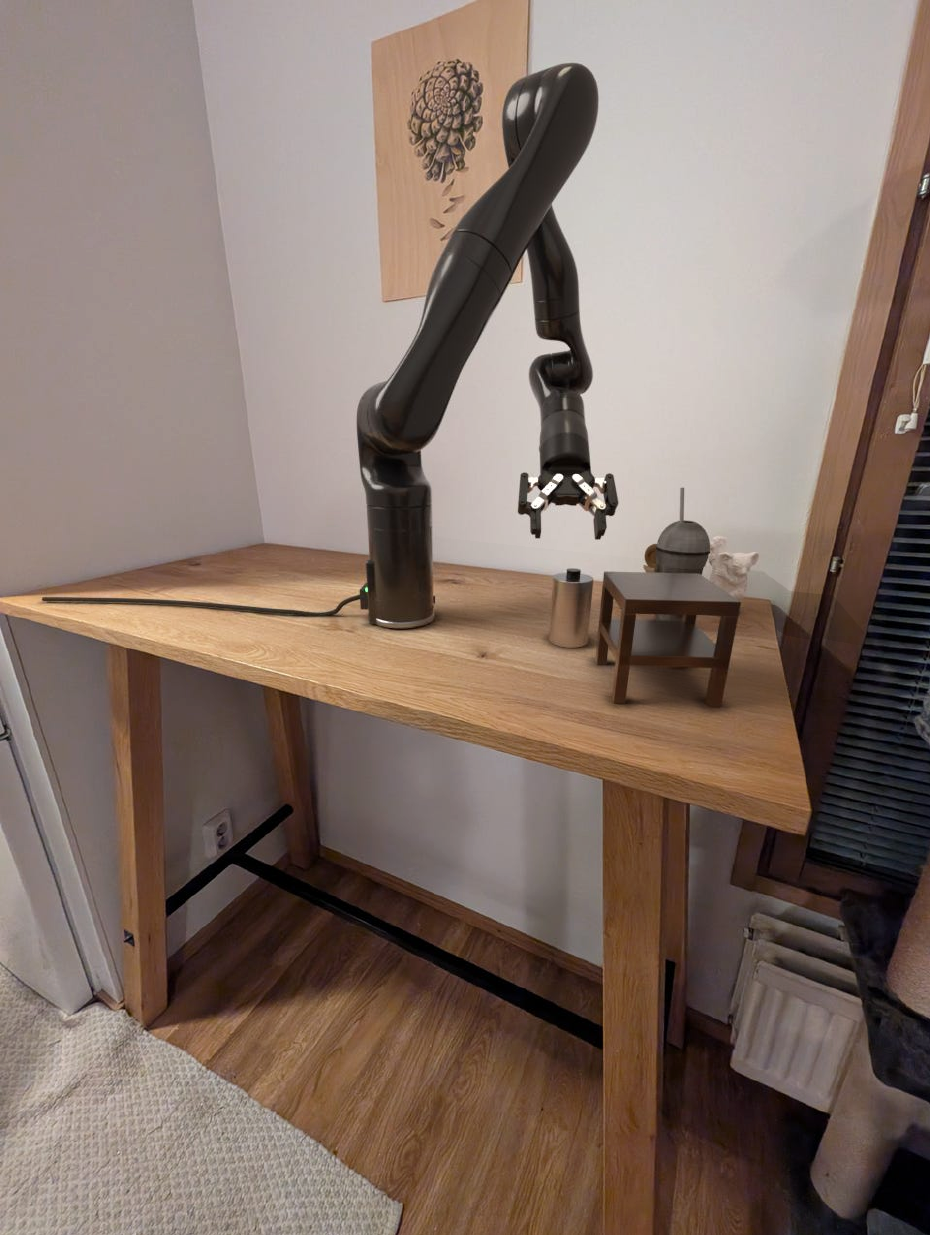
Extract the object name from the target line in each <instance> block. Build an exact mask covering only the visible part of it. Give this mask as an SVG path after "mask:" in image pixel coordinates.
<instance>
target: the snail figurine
mask: <svg viewBox="0 0 930 1235" xmlns="http://www.w3.org/2000/svg"><path fill="white" fill-rule="evenodd" d="M656 545H657V543H652V544H650V545H649V546H647V548H646V549H645V552H644V562H645V563H646V564H644V565H643V570H644V571H645V572H649V573H657V562H656V549H655V547H656Z"/></svg>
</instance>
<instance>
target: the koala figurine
mask: <svg viewBox="0 0 930 1235" xmlns="http://www.w3.org/2000/svg"><path fill="white" fill-rule="evenodd" d="M727 541H728V538H727V537H726V536H723V535H721V534H720V535H719V534H718V535H716V536H713V537H712V540H711V541H710V554H709V556H708V563H709V565H710V567H711V571H710V572H711V573H710V578H709V581H711V582H712V583H714V584H715V585H717V586H718V587H720V588H721V589H723V590H724V591H726V592H727V593H729V594H730V595H731V596H733V597H734V598H736V599H737V600H739V601H741V600H742V599H743V598H744V597H745V595H746V592H747V587H748V579H749V578H748V573H749V571H750V570H751V567H752V566H754V565H756V564H757V563H758V560H759V557H760V554H759V552H758V551H752V552H749V553H745V552H735V553H733V552H732V553H731V552H728V551H727Z"/></svg>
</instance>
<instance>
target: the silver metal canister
mask: <svg viewBox="0 0 930 1235" xmlns="http://www.w3.org/2000/svg"><path fill="white" fill-rule="evenodd" d="M581 572H582V570H581V569H579V568H573V567H572V568H571V567H570V568H567V569H566V572H560V573H559V572H558V573H555V574H554V575H553V576H552V586H551V588H552V589H551V602H550V617H549V618H550V620H549V635H548V640H549V642H550V643H551V644H552V645H555V646H556V647H560V648H566V649H577V648H582V647H585V646H587V644H588V643H589V630H590V620H591V612H592V611H591V610H592V599H593V590H594V589H593V587H594V577H593V576H591V575H589V574H585V573H581Z"/></svg>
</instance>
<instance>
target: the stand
mask: <svg viewBox="0 0 930 1235" xmlns="http://www.w3.org/2000/svg"><path fill="white" fill-rule="evenodd" d="M602 577H603V578H602V586H601V587H602V588H601V598H600V599H601V600H600V608H599V618H598V628H597V629H598V630H597V639H596V650H595V659H594V660H595V663H596V665H598V666H600V665H601V666H607V665H608V655H609V650H610V653H611V654H612V656H613V658H614V659H615V665H614V673H613V682H612V683H613V684H612V692H611V700H612V702H613V704H621V705H625V704H626V700H627V694H628V693H627V691H628V685H629V675H630V669H631V668H630V667H631V666H633V667H660V668H661V667H662V668H663V667H666V668H667V667H668V668H699V669H710V672H709V679H708V683H707V690H706V694H705V700H704V701H705V703H706V704H707V706H708V707H709V708H721V707H722V704H723V698H724V695H725V694H724V693H725V688H726V683H727V677H728V672H729V668H730V662H731V656H732V653H733V647H734V642H735V637H736V632H737V627H738V621H739V615H740V611H741V606H742V601H741V600H737V599H736V598H734V597H733V596H731V595H730V594H729V593H727V592H726V591H724V590H723V589H721V588H720V587H718V586H717V585H715V584H714V583H712V582H711V581H710V579H708V578H707V577H705V576H703V574H702V575H701V574H696V573H649V572H646V571H645V572H643V571H642V572H641V571H603V576H602ZM614 601H615V603H616V604H617V606H618V607H619V608H620V609H621V613H620V618H618V619H617V618H616V619H615V618H613V609H614ZM655 614H665V615H683V616H682V621H661V620H655V619H653V620H652V619H637V615H655ZM697 616H708V617H709V616H710V617H711V616H712V617H720V618H719V623H718V629H717V635H716V639H715V642H714V641H713V640H712V639H711V638H710V637H709V636H708V635H707V634H706V633H705V632H704V631H703V630H701V629H700V628H699V627H698V626H697V625H696V622H697Z"/></svg>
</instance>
